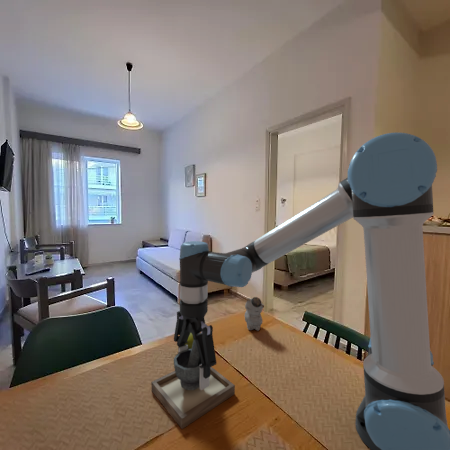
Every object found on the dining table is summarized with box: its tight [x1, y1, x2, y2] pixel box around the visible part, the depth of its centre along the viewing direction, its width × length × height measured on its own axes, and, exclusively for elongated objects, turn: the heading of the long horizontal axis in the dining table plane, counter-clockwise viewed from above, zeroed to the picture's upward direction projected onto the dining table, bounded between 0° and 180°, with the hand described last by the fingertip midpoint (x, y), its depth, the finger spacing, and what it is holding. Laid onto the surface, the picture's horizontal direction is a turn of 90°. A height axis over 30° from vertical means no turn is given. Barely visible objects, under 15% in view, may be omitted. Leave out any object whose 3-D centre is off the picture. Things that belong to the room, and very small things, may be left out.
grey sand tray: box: [150, 366, 236, 430], centre depth 71 cm, size 16×17×3 cm
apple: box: [185, 333, 194, 349], centre depth 90 cm, size 8×9×8 cm
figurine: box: [244, 296, 265, 332], centre depth 106 cm, size 9×10×15 cm
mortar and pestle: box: [173, 332, 202, 390], centre depth 70 cm, size 11×9×12 cm
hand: (193, 376), depth 70 cm, fingers open, 10 cm apart
